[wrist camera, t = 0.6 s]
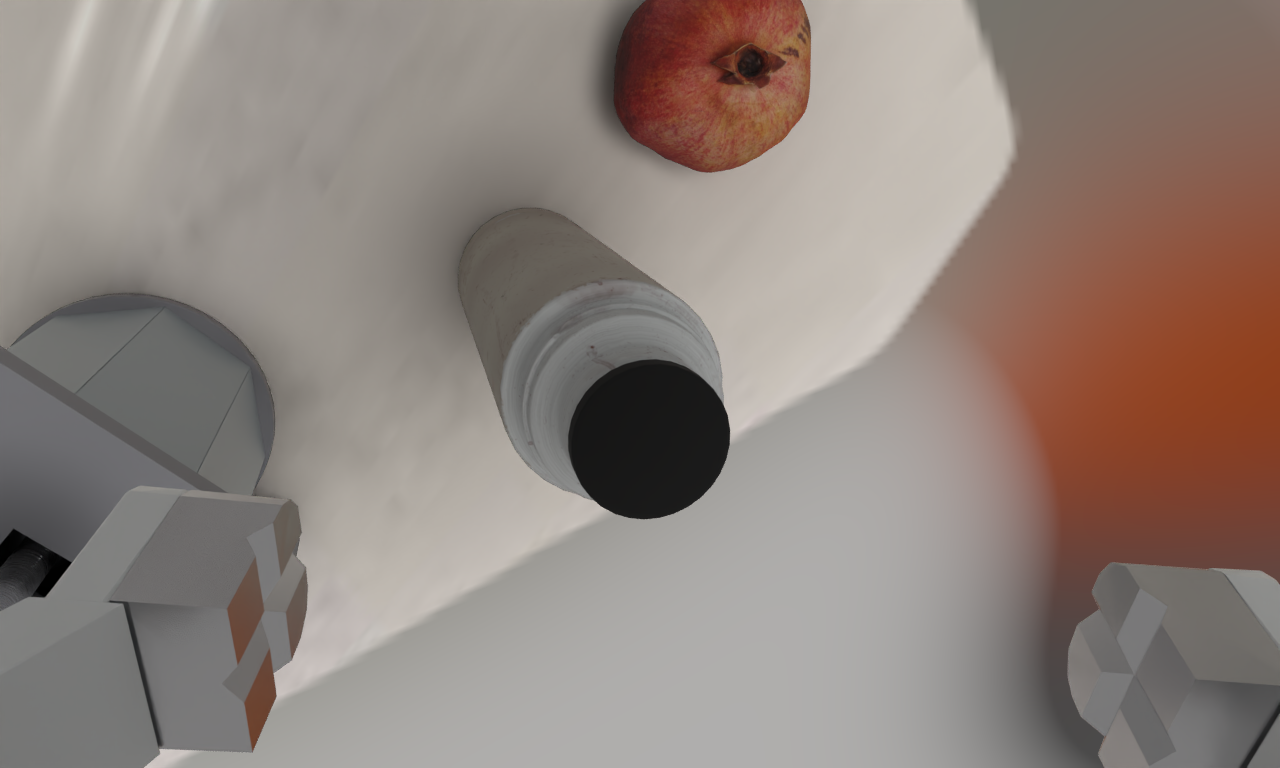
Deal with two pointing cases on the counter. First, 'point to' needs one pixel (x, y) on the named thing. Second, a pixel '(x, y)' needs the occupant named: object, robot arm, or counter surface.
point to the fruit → (713, 78)
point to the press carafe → (124, 414)
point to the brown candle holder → (27, 569)
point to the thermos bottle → (594, 366)
